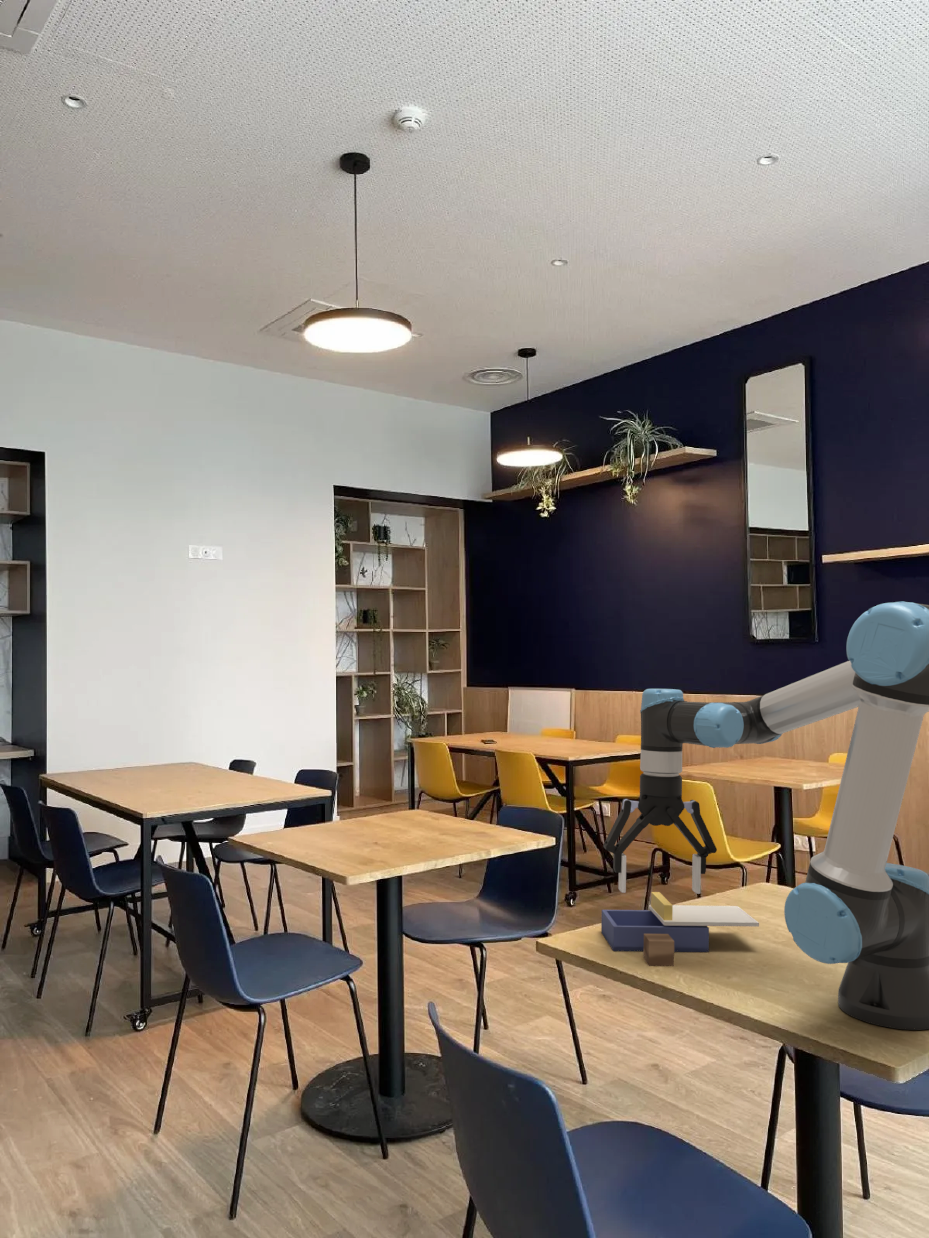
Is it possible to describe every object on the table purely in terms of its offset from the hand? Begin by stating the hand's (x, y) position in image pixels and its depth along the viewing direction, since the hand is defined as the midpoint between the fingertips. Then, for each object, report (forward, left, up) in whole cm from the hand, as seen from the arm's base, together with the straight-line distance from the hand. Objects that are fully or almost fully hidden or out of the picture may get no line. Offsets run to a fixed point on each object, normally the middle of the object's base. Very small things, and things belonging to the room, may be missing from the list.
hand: (659, 891), depth 170 cm
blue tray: (+12, -2, -13) cm, 17 cm away
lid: (+12, -12, -8) cm, 18 cm away
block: (0, 0, -13) cm, 13 cm away
